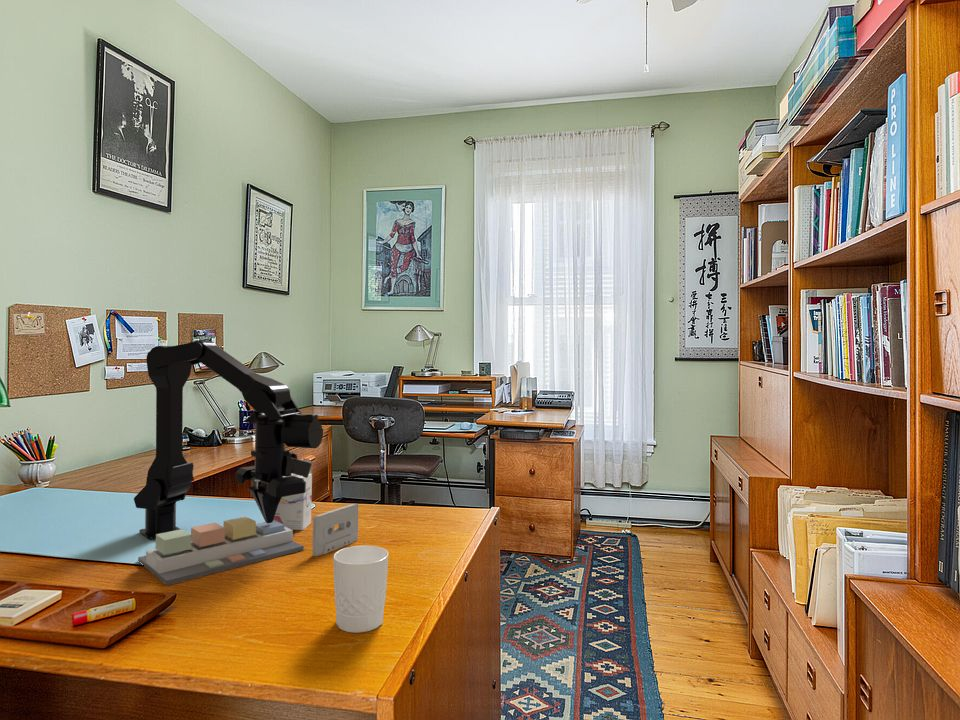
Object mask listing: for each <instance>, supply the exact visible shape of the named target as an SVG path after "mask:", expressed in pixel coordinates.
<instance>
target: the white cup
mask: <svg viewBox="0 0 960 720" xmlns="http://www.w3.org/2000/svg"><path fill="white" fill-rule="evenodd" d="M332 561H333V586H334V587H333V589H334V605H335V624H336V626H337V628H338V629H339V630H341V631H344V632H346V633H355V634H359V633H367V632H370V631H372V630H373V631H374V630H375V629H378V628H379V627H380V626H381V625H382V624H383V622H384V614H385V613H384V611H385V604H386V595H387V585H388V581H387V580H388V567H389V566H388V565H389V551H388V550H387V549H386V548H383V547H381V546H376V545H354V546H348V547H343V548H342V549H341V548H340V550H337V551H336V552H334V554H333V560H332Z"/></svg>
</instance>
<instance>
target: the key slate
mask: <svg viewBox="0 0 960 720" xmlns="http://www.w3.org/2000/svg"><path fill="white" fill-rule="evenodd" d="M282 531H284V524H281V523H279V522H277V521H275V520H273V522H272V523H266V522H265V521H263V522H259V523H256V533H258V534H260V535H262V536H264V535H268V534H273V533H277V532H282Z"/></svg>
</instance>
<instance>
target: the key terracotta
mask: <svg viewBox="0 0 960 720" xmlns="http://www.w3.org/2000/svg"><path fill="white" fill-rule="evenodd" d="M190 534H191V542H193V543H195V544H196V545H198V546H199V547H203V546H207V545H212V544H216V543H221V542H225V528H224V527H223V526H222V525H220V524H219V523H216V522H211V523H207V524H202V525H197V526H191V527H190Z"/></svg>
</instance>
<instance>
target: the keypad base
mask: <svg viewBox="0 0 960 720" xmlns="http://www.w3.org/2000/svg"><path fill="white" fill-rule="evenodd" d="M293 538H294V530H291V529H289V528H287V527H285V526H284V531H282V532H277V533H273V534H268V535H264V536H262V535H260V534H258V533H256V535H252V536H247V537H243V538H238V539H234V540H233V539H231V538H229V537H227V536H226V535H225V542H221V543H216V544H212V545H207V546H203V547H199V546H198V545H196V544H195V543H193V542H191V549H189V550H185V551H180V552H176V553H171V554H167V555H164V554H162V553H161V552H159V551H158V550H157V549H156V548H153V549H148V550H145V555H142V556H138V557H137V562H138V561H139V562H141V563H142V564H143V565H144V566H143V565H142V564H141V565H142V566H143V567H144V568H145V569H146V570H147V571H149V572H150V573H151V574H152V575H154V577H156V578H157V579H158V580H159V581H161V582H162V583H163V584H164V585H165V586H169V585H174V584H178V583H181V582H186V581H190V580H193V579H196V578H202V577H204V576H208V575H213V574H216V573H220V572H223V571H224V572H225V571H227V570H231V569H235V568H240V567H244V566H247V565H252V564H255V563H259V562H263V561H267V560H270V559H273V558H278V557H282V556H285V555H290V554H293V553H294V554H295V553H298V552H300V551H304V545H303V544H300V543H298V542H296V541H294V539H293ZM139 562H138V563H139Z"/></svg>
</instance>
